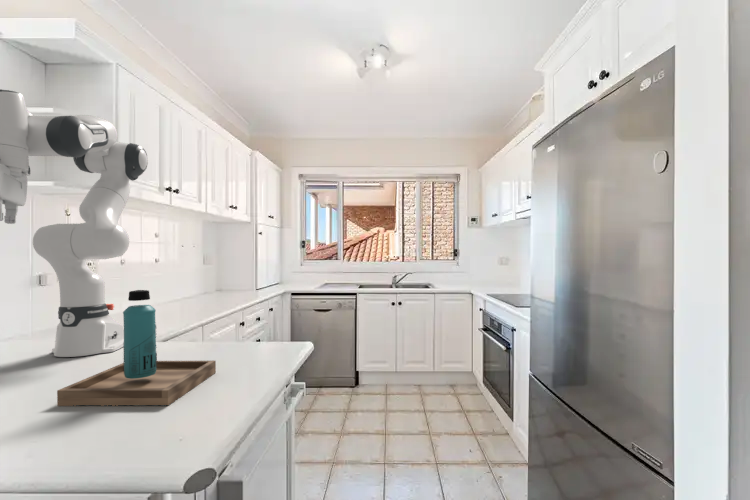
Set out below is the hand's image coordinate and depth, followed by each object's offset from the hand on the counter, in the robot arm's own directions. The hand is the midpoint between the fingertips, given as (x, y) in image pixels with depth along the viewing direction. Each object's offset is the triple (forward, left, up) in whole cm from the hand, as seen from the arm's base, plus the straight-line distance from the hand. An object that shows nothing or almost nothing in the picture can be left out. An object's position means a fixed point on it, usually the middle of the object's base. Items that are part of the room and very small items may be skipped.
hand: (3, 222), depth 94 cm
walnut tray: (+1, +33, -37) cm, 50 cm away
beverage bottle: (+1, +32, -36) cm, 48 cm away
